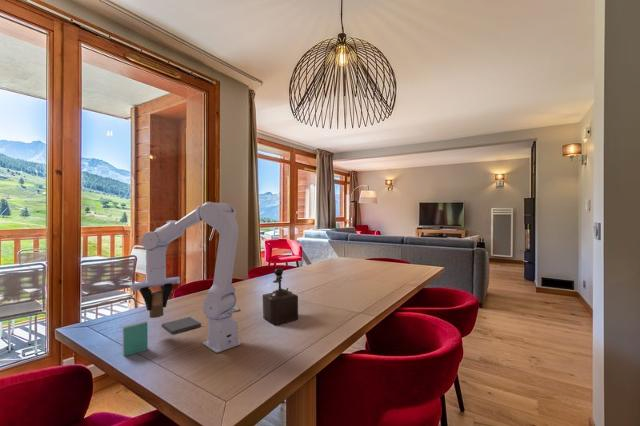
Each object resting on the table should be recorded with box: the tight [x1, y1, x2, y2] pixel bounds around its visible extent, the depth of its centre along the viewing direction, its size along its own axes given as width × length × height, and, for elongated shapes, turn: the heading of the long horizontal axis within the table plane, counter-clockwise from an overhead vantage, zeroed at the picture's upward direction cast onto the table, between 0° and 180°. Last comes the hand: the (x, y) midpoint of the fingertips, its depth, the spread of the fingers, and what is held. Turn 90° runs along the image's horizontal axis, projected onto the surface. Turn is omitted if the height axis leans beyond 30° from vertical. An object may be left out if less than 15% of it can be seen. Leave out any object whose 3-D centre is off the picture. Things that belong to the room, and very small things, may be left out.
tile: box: [122, 321, 149, 357], centre depth 87 cm, size 2×6×8 cm, turn 136°
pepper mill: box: [262, 267, 299, 327], centre depth 115 cm, size 16×11×18 cm
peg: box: [149, 289, 164, 319], centre depth 98 cm, size 4×4×8 cm
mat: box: [161, 316, 202, 335], centre depth 107 cm, size 10×10×1 cm
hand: (156, 308), depth 98 cm, fingers closed on peg, 4 cm apart
